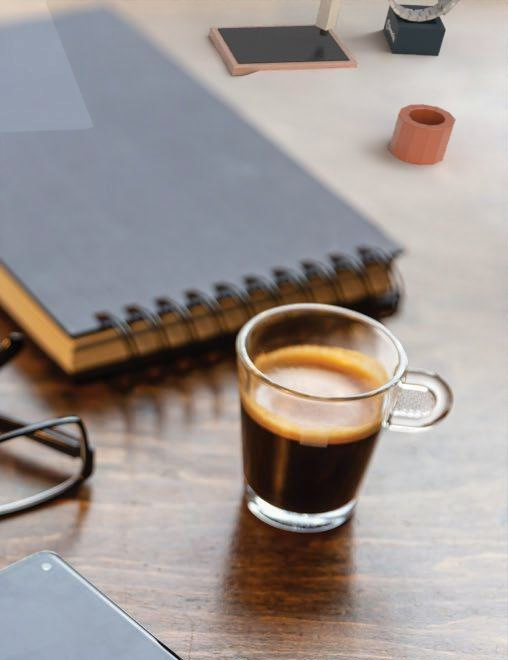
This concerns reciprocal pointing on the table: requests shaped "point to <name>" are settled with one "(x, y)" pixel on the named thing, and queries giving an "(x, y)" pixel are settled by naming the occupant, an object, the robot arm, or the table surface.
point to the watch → (416, 27)
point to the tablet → (279, 48)
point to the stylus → (328, 15)
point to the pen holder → (421, 134)
